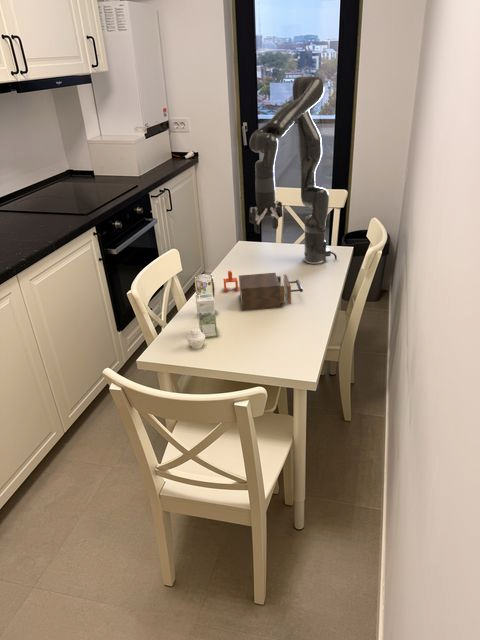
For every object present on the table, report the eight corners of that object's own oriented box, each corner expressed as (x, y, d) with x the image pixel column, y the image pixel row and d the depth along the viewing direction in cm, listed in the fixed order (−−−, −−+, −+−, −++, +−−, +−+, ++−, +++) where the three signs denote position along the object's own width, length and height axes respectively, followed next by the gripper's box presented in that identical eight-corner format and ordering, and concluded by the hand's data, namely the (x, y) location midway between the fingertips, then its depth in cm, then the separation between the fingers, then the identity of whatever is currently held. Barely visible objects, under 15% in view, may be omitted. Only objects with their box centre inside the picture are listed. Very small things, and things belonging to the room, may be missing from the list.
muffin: (190, 341, 171) (188, 323, 168) (207, 342, 171) (205, 324, 167) (186, 351, 166) (183, 332, 162) (204, 351, 165) (202, 333, 162)
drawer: (298, 290, 201) (298, 273, 197) (303, 302, 191) (303, 285, 188) (253, 293, 200) (252, 277, 196) (256, 306, 190) (255, 289, 186)
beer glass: (220, 313, 188) (217, 276, 180) (207, 320, 184) (203, 283, 176) (208, 308, 192) (204, 272, 184) (194, 314, 188) (190, 278, 180)
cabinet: (276, 293, 201) (275, 272, 197) (280, 307, 191) (279, 285, 186) (240, 296, 200) (238, 275, 196) (242, 310, 190) (241, 288, 185)
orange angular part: (237, 288, 207) (236, 269, 203) (238, 291, 205) (236, 272, 200) (224, 289, 207) (222, 270, 202) (224, 292, 204) (223, 273, 200)
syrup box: (215, 328, 178) (211, 291, 171) (217, 336, 173) (214, 299, 166) (199, 331, 177) (195, 294, 170) (201, 339, 172) (197, 301, 165)
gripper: (255, 194, 183) (257, 237, 192) (286, 187, 190) (286, 229, 199) (244, 190, 189) (246, 232, 197) (274, 184, 195) (275, 224, 204)
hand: (266, 230), depth 198 cm, fingers open, 8 cm apart
